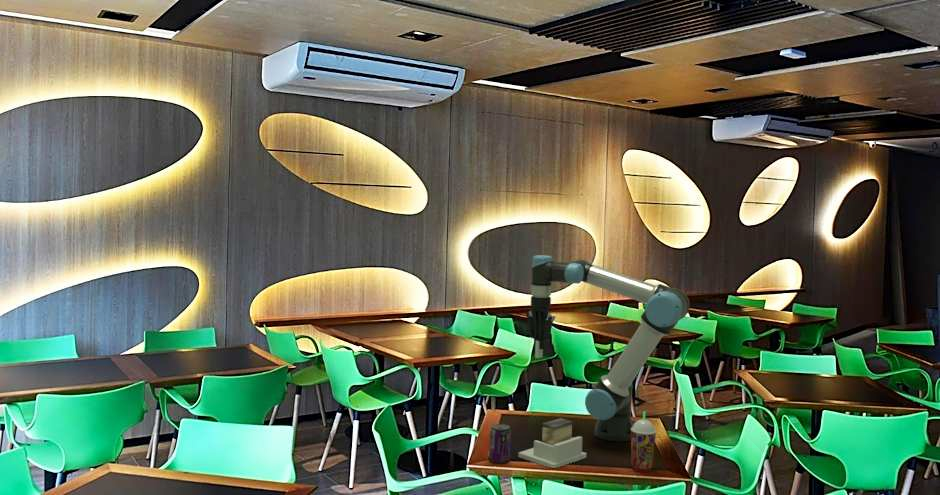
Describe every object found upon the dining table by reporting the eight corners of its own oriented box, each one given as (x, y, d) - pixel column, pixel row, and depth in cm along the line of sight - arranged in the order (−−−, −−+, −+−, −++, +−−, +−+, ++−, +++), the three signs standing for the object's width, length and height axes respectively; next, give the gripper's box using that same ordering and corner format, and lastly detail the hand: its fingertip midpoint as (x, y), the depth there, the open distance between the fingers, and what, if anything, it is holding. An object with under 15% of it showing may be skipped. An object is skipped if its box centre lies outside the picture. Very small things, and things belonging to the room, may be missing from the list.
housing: (518, 456, 278) (519, 435, 277) (551, 445, 290) (551, 425, 290) (553, 469, 266) (554, 447, 266) (586, 457, 279) (587, 436, 278)
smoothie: (649, 475, 263) (652, 416, 261) (625, 470, 267) (628, 412, 266) (657, 468, 270) (660, 410, 268) (634, 463, 274) (636, 406, 273)
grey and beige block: (541, 454, 275) (542, 423, 274) (559, 448, 282) (560, 418, 282) (552, 458, 272) (554, 427, 271) (571, 452, 279) (572, 421, 278)
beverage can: (508, 465, 269) (509, 430, 268) (487, 463, 271) (488, 428, 270) (511, 458, 276) (512, 424, 275) (491, 456, 278) (492, 422, 277)
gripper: (560, 297, 300) (558, 358, 302) (534, 293, 309) (532, 353, 311) (547, 298, 294) (545, 361, 296) (521, 294, 304) (519, 355, 305)
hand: (538, 357), depth 303 cm, fingers closed
